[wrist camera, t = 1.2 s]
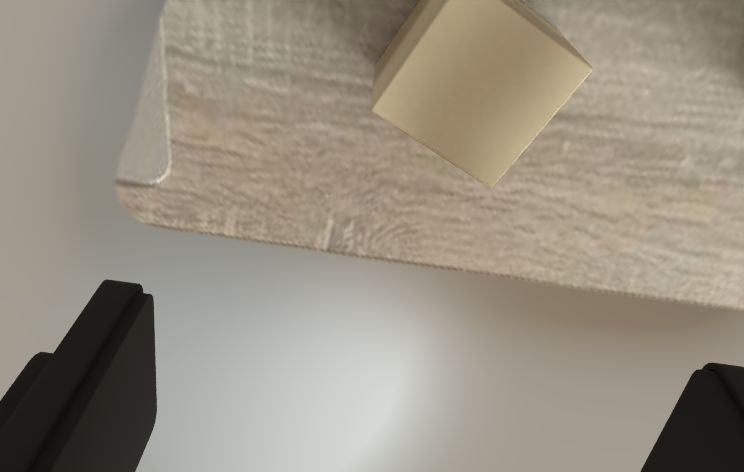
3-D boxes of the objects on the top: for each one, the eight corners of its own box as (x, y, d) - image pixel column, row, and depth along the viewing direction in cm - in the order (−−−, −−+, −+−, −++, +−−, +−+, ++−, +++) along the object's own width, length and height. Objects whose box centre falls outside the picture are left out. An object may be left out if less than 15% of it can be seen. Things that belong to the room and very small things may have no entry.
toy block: (373, 66, 28) (369, 110, 23) (452, -50, 25) (465, -28, 21) (475, 135, 29) (491, 189, 24) (559, 31, 27) (594, 69, 22)
